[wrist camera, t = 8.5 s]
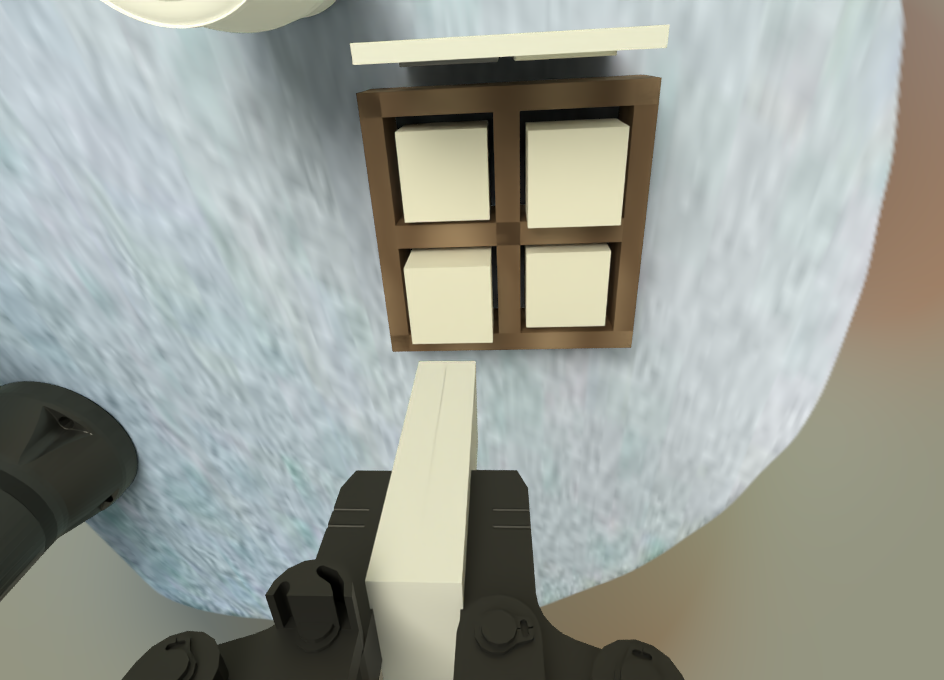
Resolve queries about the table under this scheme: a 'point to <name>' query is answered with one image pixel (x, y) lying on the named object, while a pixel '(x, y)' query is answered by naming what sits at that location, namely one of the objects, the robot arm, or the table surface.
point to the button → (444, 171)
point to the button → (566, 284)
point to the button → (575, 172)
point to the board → (511, 202)
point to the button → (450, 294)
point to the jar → (220, 13)
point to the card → (510, 46)
